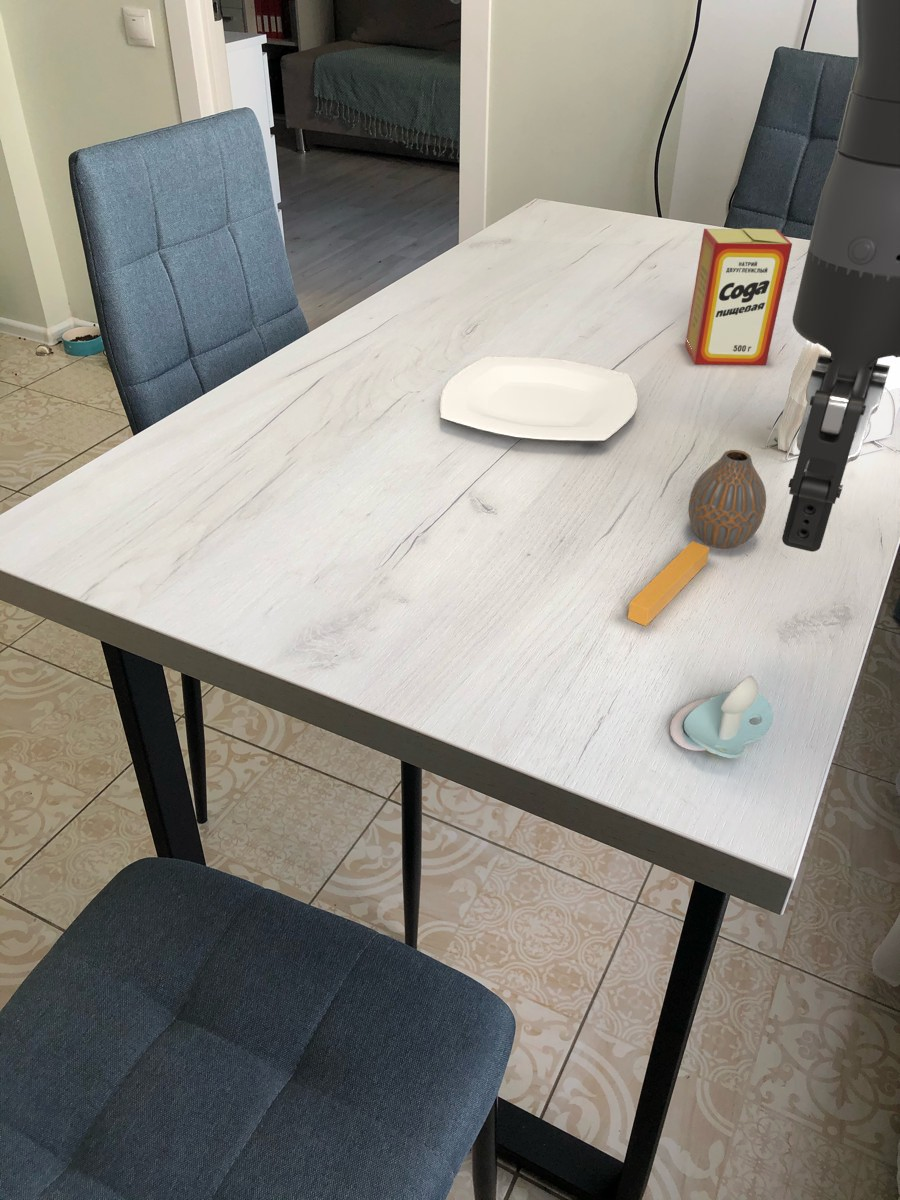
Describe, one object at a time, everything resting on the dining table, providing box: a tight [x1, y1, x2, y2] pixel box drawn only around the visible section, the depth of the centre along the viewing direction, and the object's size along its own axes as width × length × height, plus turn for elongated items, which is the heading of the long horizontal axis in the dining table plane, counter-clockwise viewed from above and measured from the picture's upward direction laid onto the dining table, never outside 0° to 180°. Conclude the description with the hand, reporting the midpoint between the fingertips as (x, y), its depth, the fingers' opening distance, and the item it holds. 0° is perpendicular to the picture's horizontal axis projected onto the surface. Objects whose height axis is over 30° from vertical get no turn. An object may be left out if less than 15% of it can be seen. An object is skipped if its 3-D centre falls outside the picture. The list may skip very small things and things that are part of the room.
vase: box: [687, 449, 767, 549], centre depth 87 cm, size 7×7×9 cm
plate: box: [439, 356, 639, 443], centre depth 112 cm, size 23×23×2 cm
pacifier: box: [669, 675, 774, 759], centre depth 67 cm, size 7×6×6 cm
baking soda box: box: [684, 227, 793, 366], centre depth 123 cm, size 10×6×16 cm
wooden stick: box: [627, 541, 711, 627], centre depth 82 cm, size 12×2×2 cm, turn 143°
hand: (811, 513), depth 59 cm, fingers open, 8 cm apart
